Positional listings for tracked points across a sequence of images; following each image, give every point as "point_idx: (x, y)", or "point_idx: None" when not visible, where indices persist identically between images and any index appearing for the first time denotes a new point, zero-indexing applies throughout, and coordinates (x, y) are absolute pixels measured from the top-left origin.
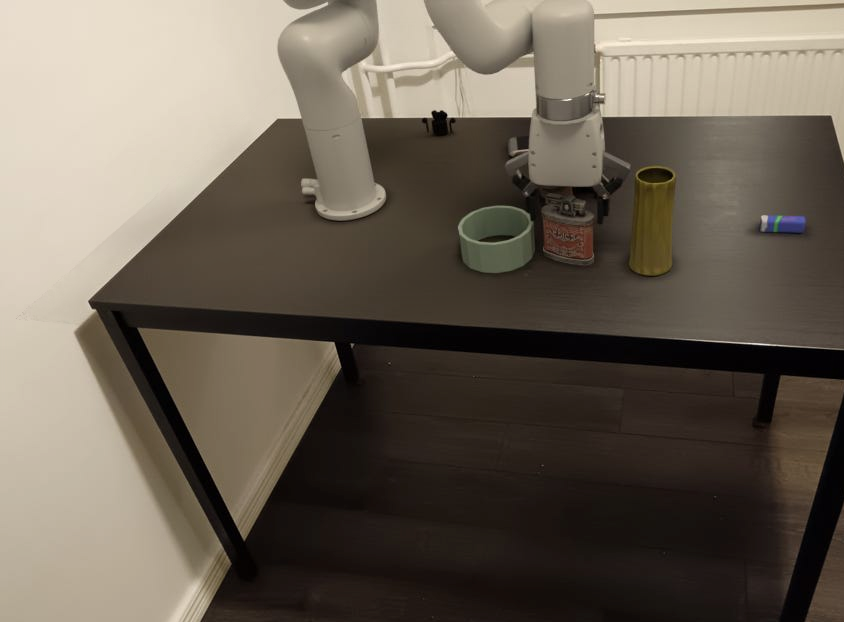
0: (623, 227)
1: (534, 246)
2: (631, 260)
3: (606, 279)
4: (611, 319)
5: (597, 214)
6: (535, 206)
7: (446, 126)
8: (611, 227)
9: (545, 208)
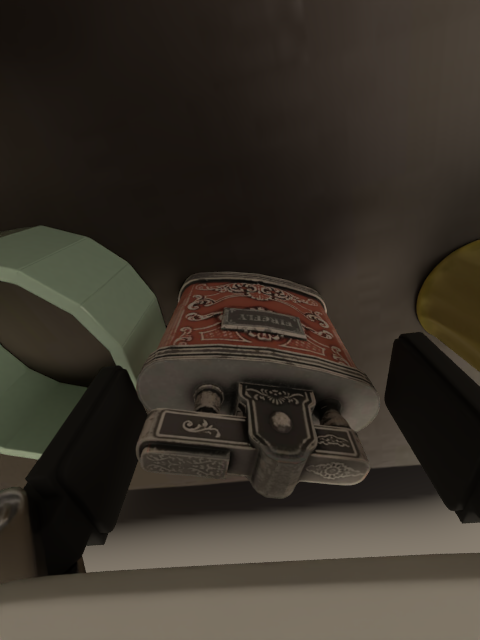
0: (408, 67)
1: (152, 306)
2: (432, 322)
3: (359, 362)
4: (374, 448)
5: (406, 438)
6: (126, 466)
7: None
8: (359, 82)
9: (153, 392)
